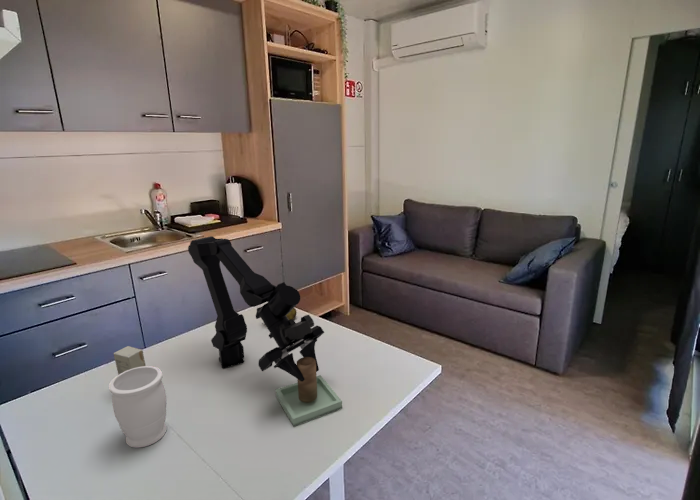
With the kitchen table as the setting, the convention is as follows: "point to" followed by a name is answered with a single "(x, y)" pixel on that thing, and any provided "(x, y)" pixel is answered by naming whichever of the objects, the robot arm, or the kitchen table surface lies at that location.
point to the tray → (311, 410)
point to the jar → (140, 405)
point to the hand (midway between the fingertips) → (310, 375)
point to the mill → (307, 379)
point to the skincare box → (129, 359)
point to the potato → (291, 314)
